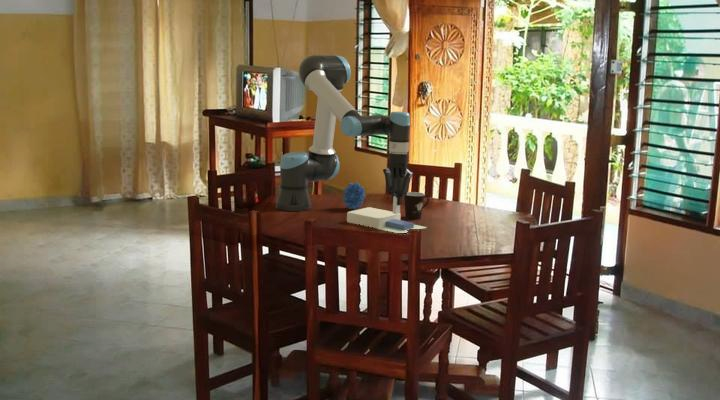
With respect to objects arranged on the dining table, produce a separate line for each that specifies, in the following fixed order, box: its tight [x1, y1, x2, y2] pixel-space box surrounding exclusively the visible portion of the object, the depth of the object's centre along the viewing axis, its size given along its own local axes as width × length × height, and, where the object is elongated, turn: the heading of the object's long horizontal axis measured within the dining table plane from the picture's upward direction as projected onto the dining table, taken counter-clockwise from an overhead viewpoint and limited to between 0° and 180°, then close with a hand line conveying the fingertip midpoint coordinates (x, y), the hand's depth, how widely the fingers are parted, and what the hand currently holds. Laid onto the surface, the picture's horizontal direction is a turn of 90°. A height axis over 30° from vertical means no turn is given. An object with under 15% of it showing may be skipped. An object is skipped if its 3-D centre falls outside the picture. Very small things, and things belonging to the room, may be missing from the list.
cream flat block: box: [346, 206, 402, 230], centre depth 306 cm, size 16×14×4 cm
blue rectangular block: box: [386, 219, 415, 230], centre depth 298 cm, size 9×6×2 cm, turn 50°
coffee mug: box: [403, 191, 430, 221], centre depth 316 cm, size 12×9×10 cm
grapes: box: [342, 182, 366, 211], centre depth 329 cm, size 12×7×12 cm, turn 53°
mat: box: [377, 224, 428, 234], centre depth 298 cm, size 12×16×1 cm
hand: (396, 213), depth 299 cm, fingers closed
